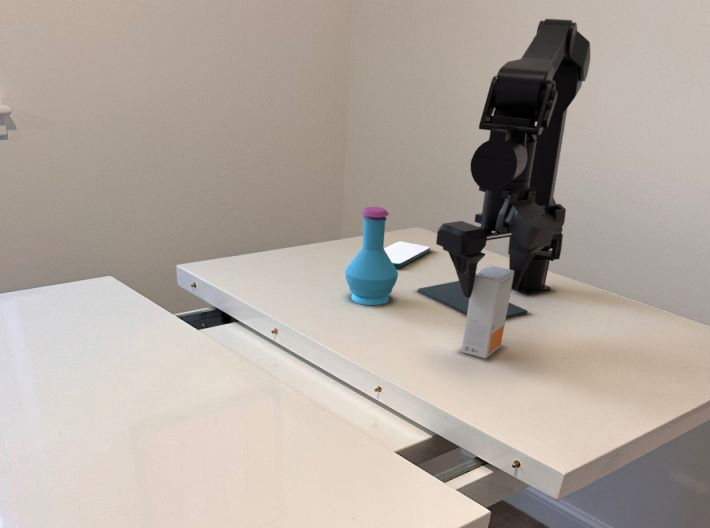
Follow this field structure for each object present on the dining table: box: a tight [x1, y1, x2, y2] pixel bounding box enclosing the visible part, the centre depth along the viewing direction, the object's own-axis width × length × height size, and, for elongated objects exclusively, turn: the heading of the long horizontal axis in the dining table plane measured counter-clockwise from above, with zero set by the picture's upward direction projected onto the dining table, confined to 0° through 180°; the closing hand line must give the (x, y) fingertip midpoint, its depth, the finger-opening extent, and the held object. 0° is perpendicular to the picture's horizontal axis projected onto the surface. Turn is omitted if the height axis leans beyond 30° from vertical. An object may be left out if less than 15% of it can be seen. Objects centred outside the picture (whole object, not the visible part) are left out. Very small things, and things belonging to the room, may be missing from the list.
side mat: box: [417, 280, 528, 320], centre depth 128 cm, size 10×18×1 cm, turn 34°
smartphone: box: [383, 240, 431, 268], centre depth 148 cm, size 8×1×16 cm
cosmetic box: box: [461, 264, 514, 359], centre depth 107 cm, size 6×4×12 cm
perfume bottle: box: [344, 206, 399, 306], centre depth 123 cm, size 9×9×15 cm
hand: (490, 292), depth 105 cm, fingers open, 9 cm apart
